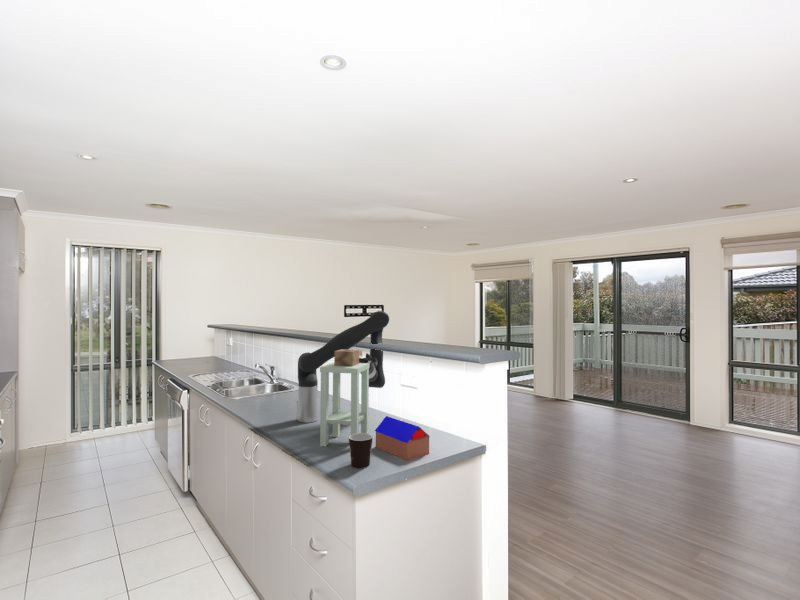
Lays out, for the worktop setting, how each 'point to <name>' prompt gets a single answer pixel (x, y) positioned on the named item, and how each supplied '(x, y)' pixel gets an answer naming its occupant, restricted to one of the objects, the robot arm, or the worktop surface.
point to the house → (402, 439)
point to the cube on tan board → (347, 357)
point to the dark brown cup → (360, 449)
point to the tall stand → (337, 415)
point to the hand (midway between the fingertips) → (357, 354)
